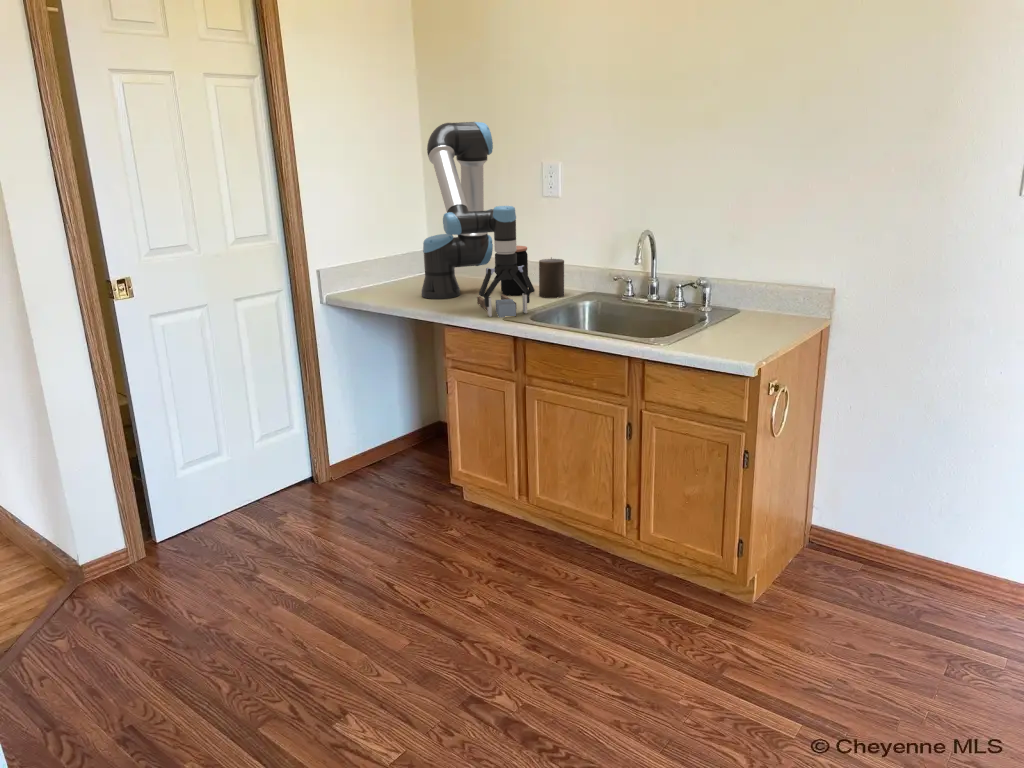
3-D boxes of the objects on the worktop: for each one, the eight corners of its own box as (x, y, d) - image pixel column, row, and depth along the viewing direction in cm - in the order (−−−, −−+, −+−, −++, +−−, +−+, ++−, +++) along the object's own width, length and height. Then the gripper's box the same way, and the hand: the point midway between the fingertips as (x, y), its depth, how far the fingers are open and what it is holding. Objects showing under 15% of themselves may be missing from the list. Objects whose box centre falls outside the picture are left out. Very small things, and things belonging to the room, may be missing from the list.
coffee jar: (529, 295, 306) (528, 249, 300) (502, 296, 305) (500, 250, 299) (527, 290, 316) (526, 245, 310) (500, 291, 315) (499, 246, 309)
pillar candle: (555, 299, 298) (555, 259, 293) (534, 296, 303) (533, 257, 299) (569, 294, 305) (569, 256, 301) (548, 292, 311) (548, 254, 306)
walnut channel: (477, 303, 295) (477, 296, 294) (504, 300, 297) (503, 294, 297) (488, 312, 280) (488, 305, 279) (516, 309, 283) (516, 302, 282)
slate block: (495, 312, 280) (495, 299, 279) (512, 311, 281) (512, 299, 280) (498, 318, 272) (498, 305, 271) (516, 317, 273) (515, 304, 271)
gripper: (536, 248, 275) (537, 308, 282) (468, 253, 269) (471, 315, 275) (543, 251, 268) (543, 313, 275) (473, 256, 262) (476, 319, 269)
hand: (507, 314), depth 275 cm, fingers open, 12 cm apart
